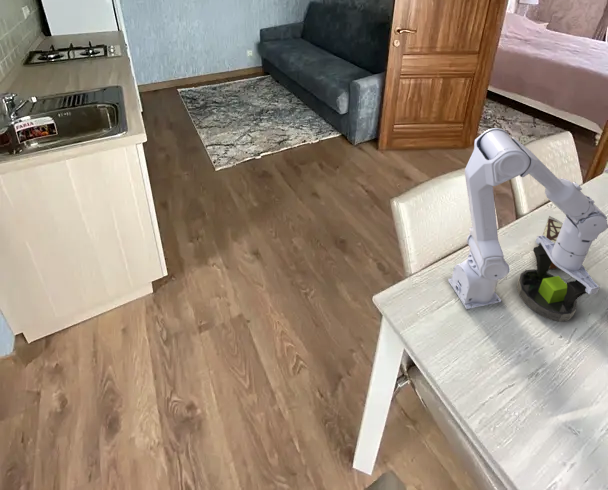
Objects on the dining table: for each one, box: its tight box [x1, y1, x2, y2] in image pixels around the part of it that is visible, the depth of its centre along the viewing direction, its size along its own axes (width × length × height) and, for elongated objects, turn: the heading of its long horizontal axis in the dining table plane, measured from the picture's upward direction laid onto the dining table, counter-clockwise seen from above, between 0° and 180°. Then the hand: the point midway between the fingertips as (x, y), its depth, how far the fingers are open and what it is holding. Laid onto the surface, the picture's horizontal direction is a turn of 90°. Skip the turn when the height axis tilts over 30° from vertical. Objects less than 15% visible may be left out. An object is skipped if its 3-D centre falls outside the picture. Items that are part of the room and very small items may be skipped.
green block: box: [538, 275, 567, 303], centre depth 84 cm, size 4×3×4 cm
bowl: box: [516, 268, 578, 323], centre depth 84 cm, size 12×12×3 cm
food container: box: [535, 215, 563, 270], centre depth 93 cm, size 12×6×10 cm, turn 143°
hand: (554, 287), depth 83 cm, fingers open, 7 cm apart
